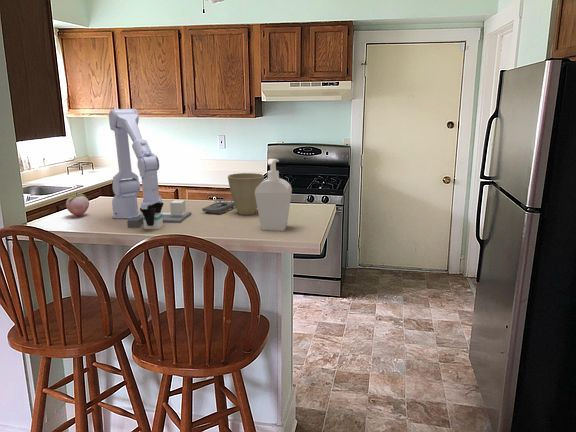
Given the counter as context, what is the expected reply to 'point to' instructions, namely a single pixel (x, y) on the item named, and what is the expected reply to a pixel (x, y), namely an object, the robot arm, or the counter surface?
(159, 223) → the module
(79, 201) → the decorative fruit
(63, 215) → the counter surface
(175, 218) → the mounting plate
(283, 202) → the soap bottle
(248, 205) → the plant pot
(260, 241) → the counter surface
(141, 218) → the box
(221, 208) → the graphics card
